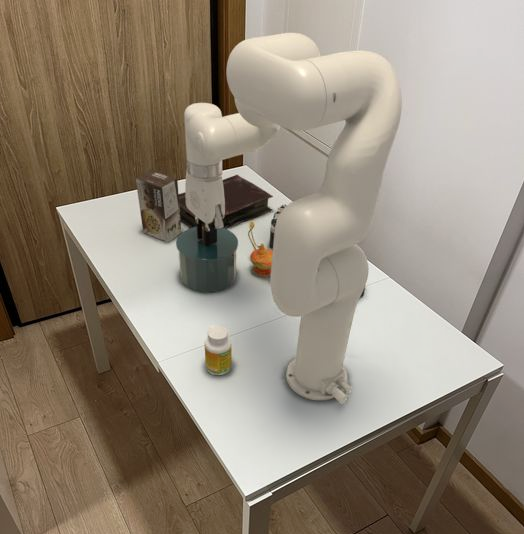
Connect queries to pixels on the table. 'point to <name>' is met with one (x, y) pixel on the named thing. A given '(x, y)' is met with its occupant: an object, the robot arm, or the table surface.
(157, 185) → the coffee box
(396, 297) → the table surface
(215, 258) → the lid
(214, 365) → the supplement bottle
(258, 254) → the magic lamp
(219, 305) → the table surface
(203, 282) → the tin
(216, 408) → the table surface
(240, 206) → the diary
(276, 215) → the camera
